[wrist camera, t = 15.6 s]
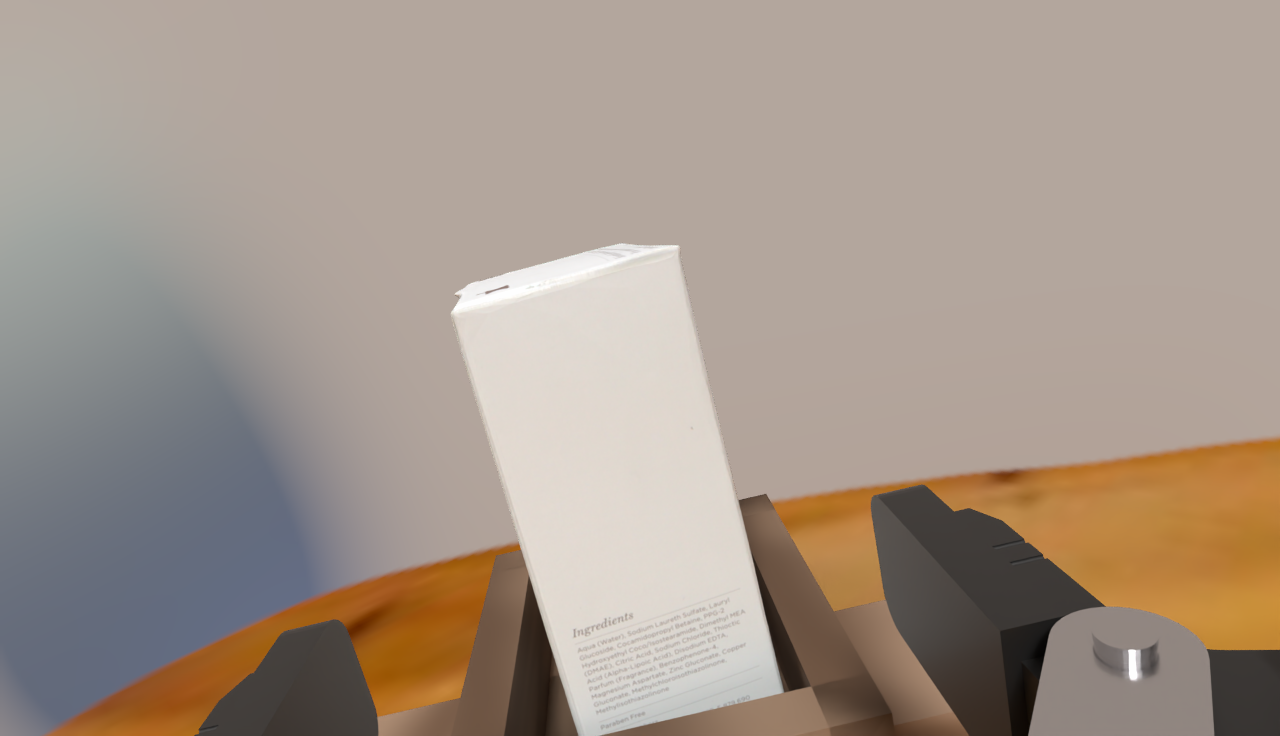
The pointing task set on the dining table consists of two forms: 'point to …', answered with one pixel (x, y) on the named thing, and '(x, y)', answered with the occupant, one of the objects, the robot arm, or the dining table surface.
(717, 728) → the cross stand
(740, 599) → the skincare box
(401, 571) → the dining table surface
